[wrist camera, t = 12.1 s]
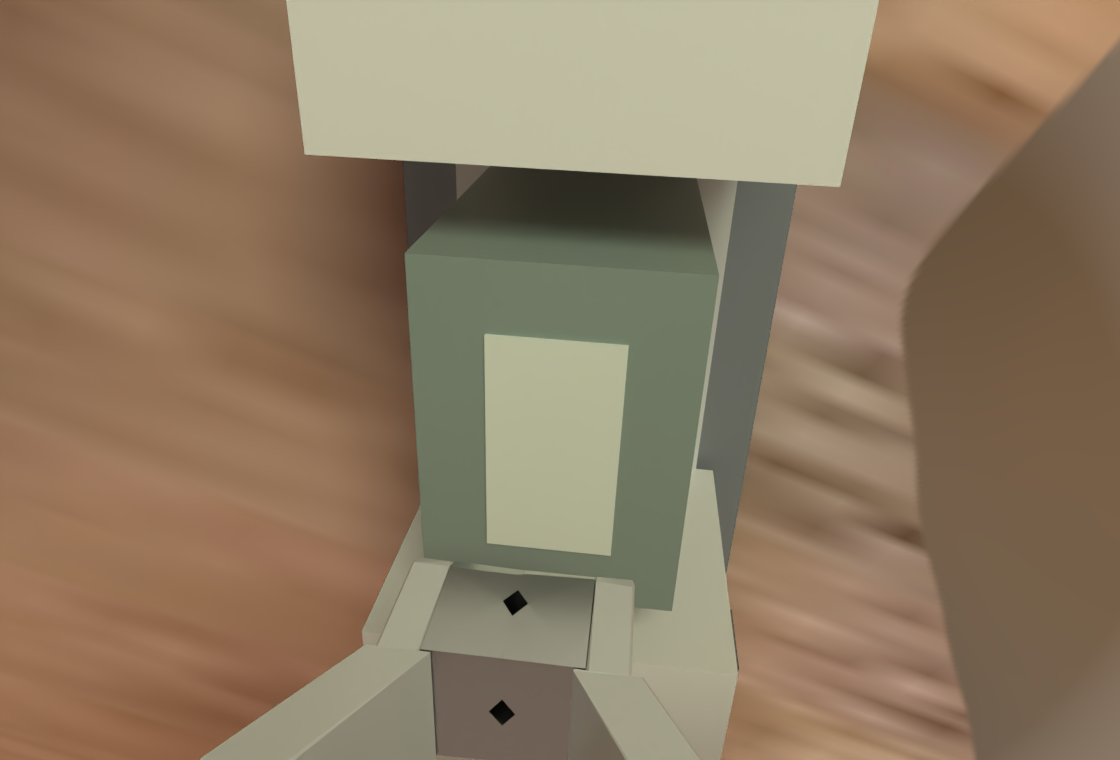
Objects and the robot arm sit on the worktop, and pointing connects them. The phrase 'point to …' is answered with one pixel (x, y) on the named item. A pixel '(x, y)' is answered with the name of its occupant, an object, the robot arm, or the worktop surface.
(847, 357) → the worktop surface
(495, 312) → the block
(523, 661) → the robot arm
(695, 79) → the rail base
